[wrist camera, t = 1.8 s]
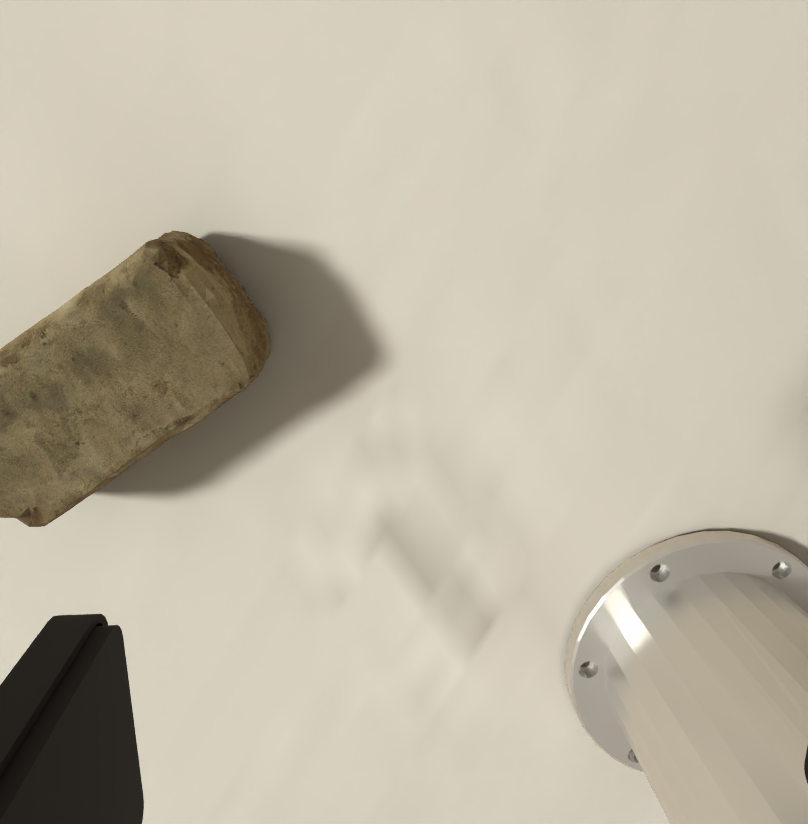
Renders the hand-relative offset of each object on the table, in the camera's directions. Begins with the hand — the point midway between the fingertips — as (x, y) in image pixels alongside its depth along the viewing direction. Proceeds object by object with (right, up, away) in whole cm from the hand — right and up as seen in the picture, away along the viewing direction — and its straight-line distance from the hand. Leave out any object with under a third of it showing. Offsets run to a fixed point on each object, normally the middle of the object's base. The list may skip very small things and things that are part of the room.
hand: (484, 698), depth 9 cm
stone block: (-12, +6, +19) cm, 23 cm away
